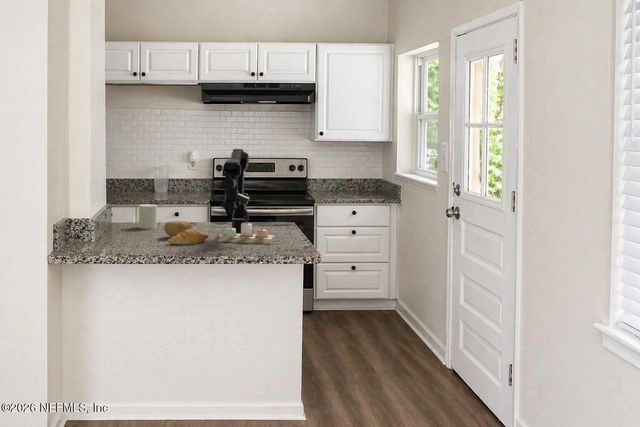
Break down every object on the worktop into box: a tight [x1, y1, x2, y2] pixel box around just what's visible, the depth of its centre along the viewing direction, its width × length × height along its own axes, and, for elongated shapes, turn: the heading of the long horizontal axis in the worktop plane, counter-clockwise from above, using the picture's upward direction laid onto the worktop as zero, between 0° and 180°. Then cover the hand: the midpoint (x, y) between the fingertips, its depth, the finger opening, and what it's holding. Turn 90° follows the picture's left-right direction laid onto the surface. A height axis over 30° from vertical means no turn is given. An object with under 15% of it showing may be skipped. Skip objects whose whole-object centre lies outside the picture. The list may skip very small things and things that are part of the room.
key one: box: [224, 227, 237, 237], centre depth 381 cm, size 5×5×6 cm
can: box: [138, 203, 158, 230], centre depth 411 cm, size 9×9×12 cm
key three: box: [256, 228, 268, 238], centre depth 380 cm, size 5×5×6 cm
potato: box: [163, 220, 192, 238], centre depth 384 cm, size 10×14×8 cm
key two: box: [241, 222, 253, 236], centre depth 380 cm, size 5×5×6 cm
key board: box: [217, 232, 275, 245], centre depth 380 cm, size 25×11×2 cm, turn 87°
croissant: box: [167, 228, 209, 246], centre depth 369 cm, size 21×10×8 cm
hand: (230, 221), depth 380 cm, fingers closed
